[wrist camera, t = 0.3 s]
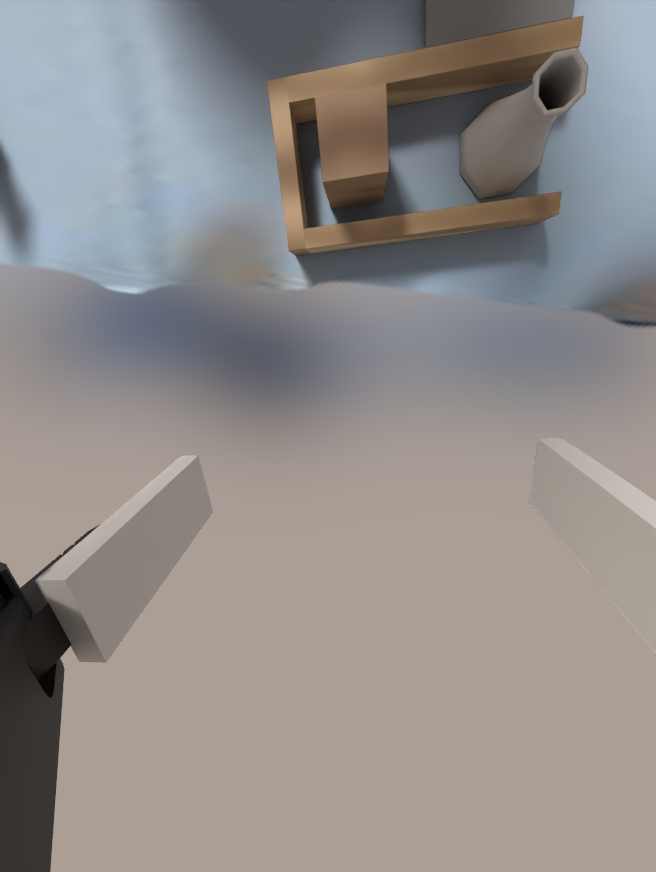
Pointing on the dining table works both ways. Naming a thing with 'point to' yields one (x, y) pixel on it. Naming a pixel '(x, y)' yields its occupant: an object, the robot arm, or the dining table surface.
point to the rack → (406, 83)
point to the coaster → (487, 17)
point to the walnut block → (353, 145)
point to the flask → (520, 126)
